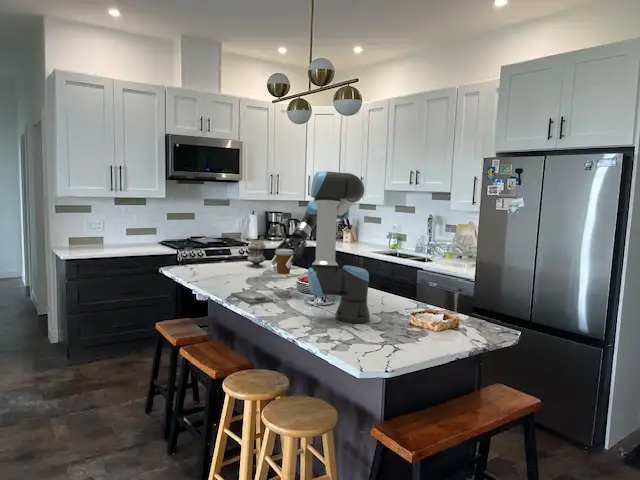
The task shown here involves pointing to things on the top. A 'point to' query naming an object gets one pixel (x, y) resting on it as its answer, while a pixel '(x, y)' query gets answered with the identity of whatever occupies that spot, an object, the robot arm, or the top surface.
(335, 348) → the top surface
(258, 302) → the mug warmer
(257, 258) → the grey stone vase
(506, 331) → the top surface
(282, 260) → the disposable coffee cup
